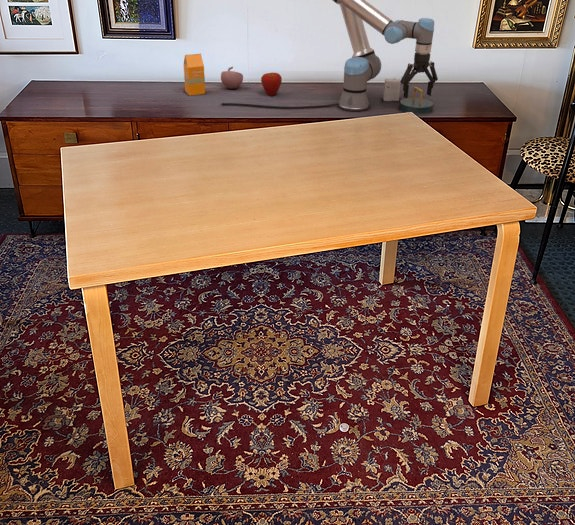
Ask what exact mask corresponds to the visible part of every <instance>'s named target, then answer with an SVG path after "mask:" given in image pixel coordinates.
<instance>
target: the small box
mask: <svg viewBox="0 0 575 525" xmlns="http://www.w3.org/2000/svg"><path fill="white" fill-rule="evenodd" d="M400 81H401V78H384V86H383V87H384V88H383V97H382V99H383V102H400V92H401V84H402V83H400Z"/></svg>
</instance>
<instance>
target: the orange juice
mask: <svg viewBox="0 0 575 525" xmlns="http://www.w3.org/2000/svg"><path fill="white" fill-rule="evenodd" d="M183 74H184V75H183V79H184V91H185V93H186V94H187V95H188V96H197V95H206V78H205V77H206V76H205V65H204V61H203V57H202V53H193V54H192V53H191V54H185V55H184V60H183Z"/></svg>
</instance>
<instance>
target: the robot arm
mask: <svg viewBox="0 0 575 525" xmlns="http://www.w3.org/2000/svg"><path fill="white" fill-rule="evenodd" d="M332 2H334V3H335V4H336V5H339V8H340V11H341V14H342V17H343V20H344V21H343V22H344V24H345V28H346V32H347V35H348V39H349V42H350V45H351V48H352V52H353V53H352V56H351V57H350V58H348V59H346V60H345V62H344V67H343V85H342V86H343V88H342V93H341V96H340V98H339V100H338V102H337V103H331V104H321V105H320V104H319V105H302V106H301V105H300V106H299V105H298V106H286V105H285V106H281V105H265V104H255V103H254V104H253V103H241V102H240V103H239V102H221V105H222V106H245V107H255V108H256V107H257V108H270V109H311V108H313V109H315V108H328V107H335V106H338V108H339V109H340V110H343V111H348V112H363V111H366V110H368V109H369V106H370V102H369V98H368V94H367V88H368V82H369V81H371V80H374V79H375V78H376V77H377V76H378V75H379V74H380V72H381V70H382V61H381V58H379V56H378V55H376V53H375V50H374V48H372V47H371V45H370V42H369V38H368V35H367V31H366V28H365V25H364V22H365V23H366V24H367V25H369V26H370V27H371V28H373V29H374V30H376V32H378V33H380V34H381V35H382V36H383V37H384V40H385V42H387V44H391V45H393V44H398V43H400V42H401V41H403V40H405V39H411V40H412V39H413V40H415V47H414V57H413V63H409V62H408V63H407V66H406V70H404V73H403V75H402V76H401V78H400V83H401V84H402V85H403V86H402V91H403V96H402V97H403V99H404V98H409V89H410V85H409V83H410V82H411V81H412V80H413V79H414V77H415V76H416V75H418V74H421V73H423V74H425V75H426V77H427V78H428V80H429V81H428V82H427V88H426V90H427V91H426V95H427V96H429V97H431V96H432V91H433V89H434V86H435V85H434V84H435V83H436V82H437V81H438V80H439V78H438V74H437V71H436V68H435V62H434V61H431V52H432V46H433V38H434V31H435V20H434V19H433V18H430V17H420V18H419V19H418V21H411V20H403V19H396V20H395V21H394V20H392V19H391V18H390V17H388V16H387V15H385V14H384V13H383V12H382V11H380V10H379V9H378V8H376V7H375V6H374V5H372V4H370V2H368V1H367V0H332Z"/></svg>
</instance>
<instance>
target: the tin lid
mask: <svg viewBox="0 0 575 525" xmlns="http://www.w3.org/2000/svg"><path fill="white" fill-rule="evenodd" d="M416 92H419V93H420V94H419V97H416ZM423 93H424V90H423V89H421V88H420V87H417V86H415V85H414V86H413V94H412V97H408V98H404V97H403V98H402V99H399V104H402V105H403V106H406V107H410V108H419V109H422V108H429V107H432V108H433V107H434V102H433V101H432V100H430V99H427V98H423Z"/></svg>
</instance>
